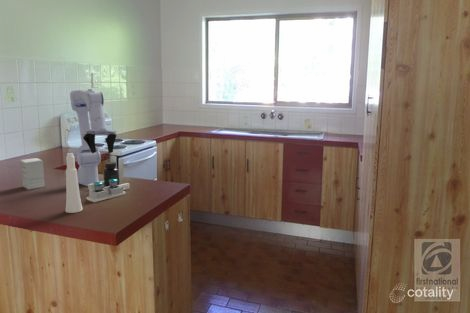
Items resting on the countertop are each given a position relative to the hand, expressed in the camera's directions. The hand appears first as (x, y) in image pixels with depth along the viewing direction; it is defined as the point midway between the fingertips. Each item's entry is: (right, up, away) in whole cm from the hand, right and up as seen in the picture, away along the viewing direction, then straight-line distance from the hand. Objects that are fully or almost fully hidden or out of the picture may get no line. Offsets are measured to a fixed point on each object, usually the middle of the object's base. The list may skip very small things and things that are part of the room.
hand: (102, 152), depth 152 cm
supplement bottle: (-2, -16, +19) cm, 26 cm away
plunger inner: (+1, -15, +9) cm, 18 cm away
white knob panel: (-4, -17, +13) cm, 22 cm away
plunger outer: (-3, -16, +4) cm, 17 cm away
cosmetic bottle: (-7, -22, -10) cm, 25 cm away
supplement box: (-39, -16, +21) cm, 47 cm away
